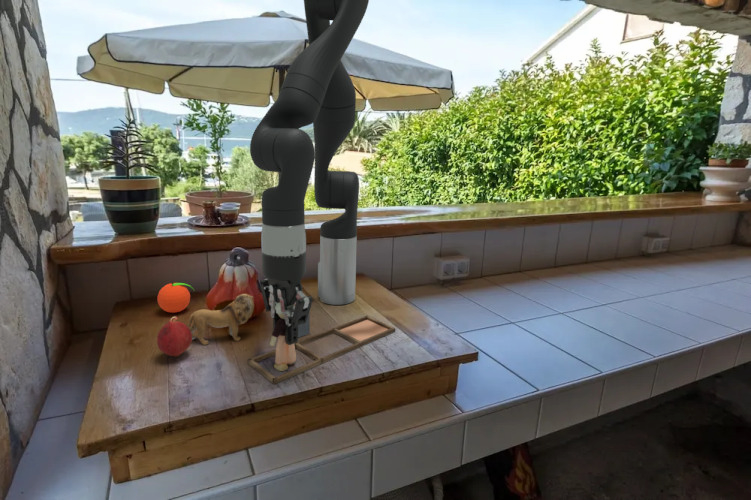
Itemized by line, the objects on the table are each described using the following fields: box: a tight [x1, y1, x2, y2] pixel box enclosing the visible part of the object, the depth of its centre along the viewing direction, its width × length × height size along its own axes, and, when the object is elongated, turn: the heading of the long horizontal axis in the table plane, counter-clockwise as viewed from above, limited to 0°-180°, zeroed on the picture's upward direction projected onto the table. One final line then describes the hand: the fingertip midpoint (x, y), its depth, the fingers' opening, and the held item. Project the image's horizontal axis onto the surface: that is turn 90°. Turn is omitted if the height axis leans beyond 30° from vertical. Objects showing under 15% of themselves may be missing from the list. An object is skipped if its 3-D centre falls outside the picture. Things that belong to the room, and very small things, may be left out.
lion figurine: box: [186, 293, 255, 346], centre depth 83 cm, size 15×5×9 cm, turn 118°
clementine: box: [156, 282, 195, 314], centre depth 96 cm, size 8×7×7 cm
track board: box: [247, 315, 396, 385], centre depth 83 cm, size 9×31×1 cm, turn 135°
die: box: [291, 312, 311, 339], centre depth 88 cm, size 5×5×5 cm
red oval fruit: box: [156, 315, 193, 358], centre depth 76 cm, size 6×6×8 cm
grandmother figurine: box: [269, 303, 297, 372], centre depth 75 cm, size 8×4×13 cm, turn 168°
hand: (285, 338), depth 75 cm, fingers open, 3 cm apart
